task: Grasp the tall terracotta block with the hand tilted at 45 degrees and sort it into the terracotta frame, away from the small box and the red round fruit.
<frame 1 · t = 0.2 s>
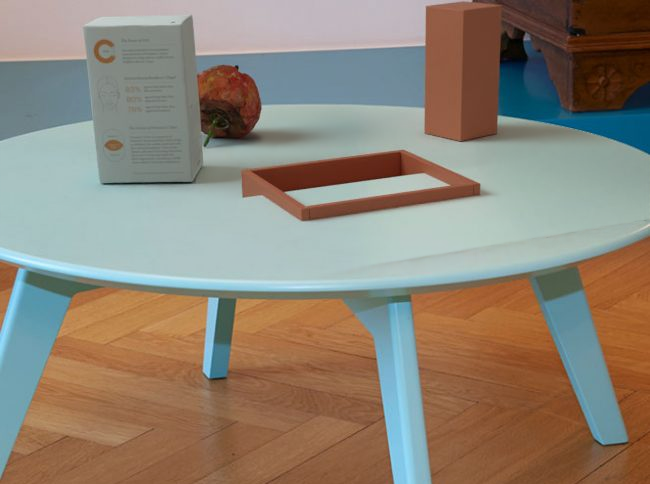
terracotta block: (460, 133, 110), on the table
small box: (152, 176, 98), on the table
red round fruit: (224, 141, 110), on the table
terracotta frame: (357, 209, 86), on the table
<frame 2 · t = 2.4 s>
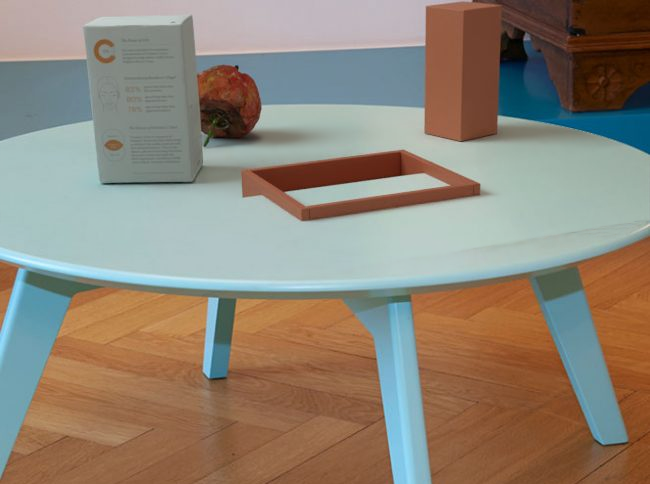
nothing on the table moved.
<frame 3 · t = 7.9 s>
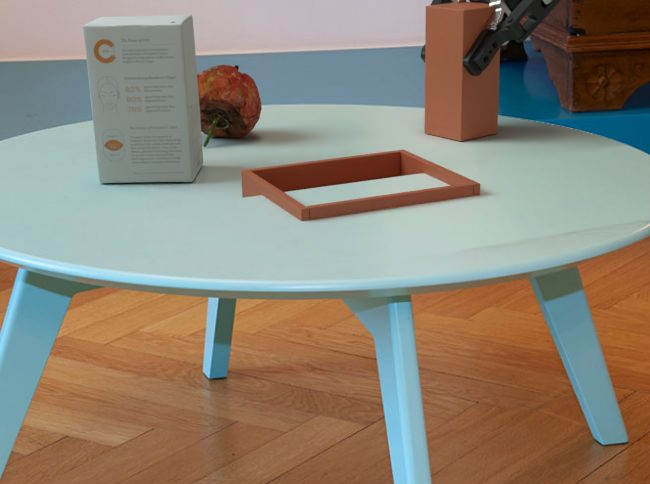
hand: (448, 66, 106), 7 cm above the table, tool tilted 45°, fingers closed on terracotta block, 5 cm apart
terracotta block: (460, 133, 110), on the table, touching gripper
everything else where it was.
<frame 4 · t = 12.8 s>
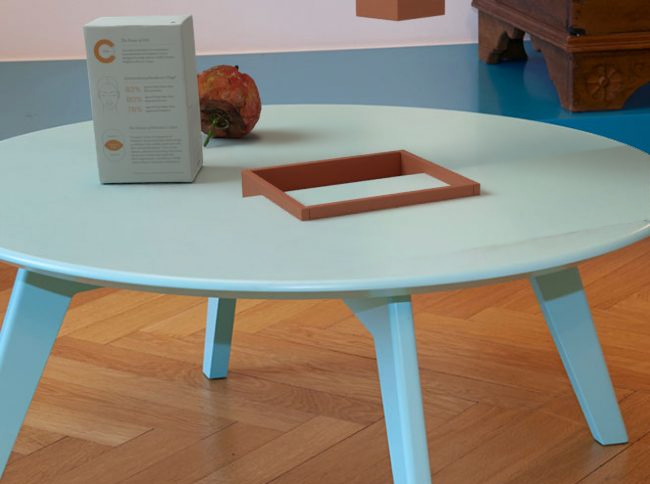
terracotta block: (400, 15, 89), point 13 cm above the table, touching gripper
everything else where it was.
when the fingers open (7 cm above the table, at t = 17.9 s): terracotta block stays where it is, resting on terracotta frame.
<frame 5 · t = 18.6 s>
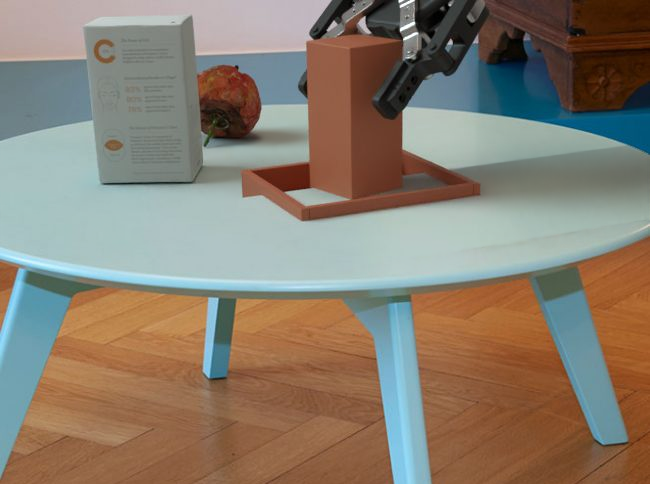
hand: (343, 104, 82), 8 cm above the table, tool tilted 45°, fingers open, 8 cm apart
terracotta block: (356, 201, 86), point 1 cm above the table, touching terracotta frame
everything else where it was.
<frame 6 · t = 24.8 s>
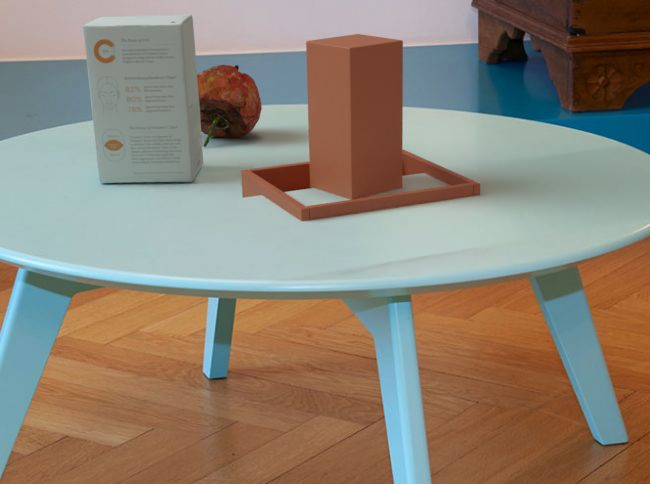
nothing on the table moved.
at the end: terracotta block inside the target area in the terracotta frame (0.2 cm from its centre), point 0.6 cm above the terracotta frame's base; terracotta block tilted 0°; the gripper is holding nothing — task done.
